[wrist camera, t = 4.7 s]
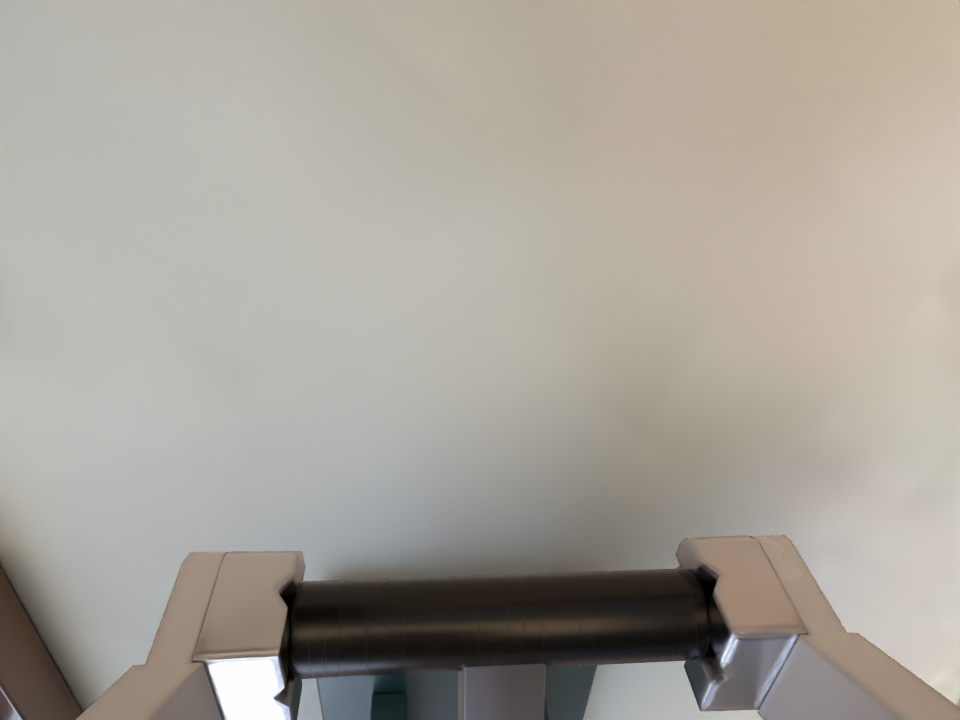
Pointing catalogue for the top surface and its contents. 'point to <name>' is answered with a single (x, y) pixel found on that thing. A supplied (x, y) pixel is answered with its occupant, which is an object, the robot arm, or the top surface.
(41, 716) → the control block
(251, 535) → the top surface
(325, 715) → the bracket
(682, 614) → the lever
